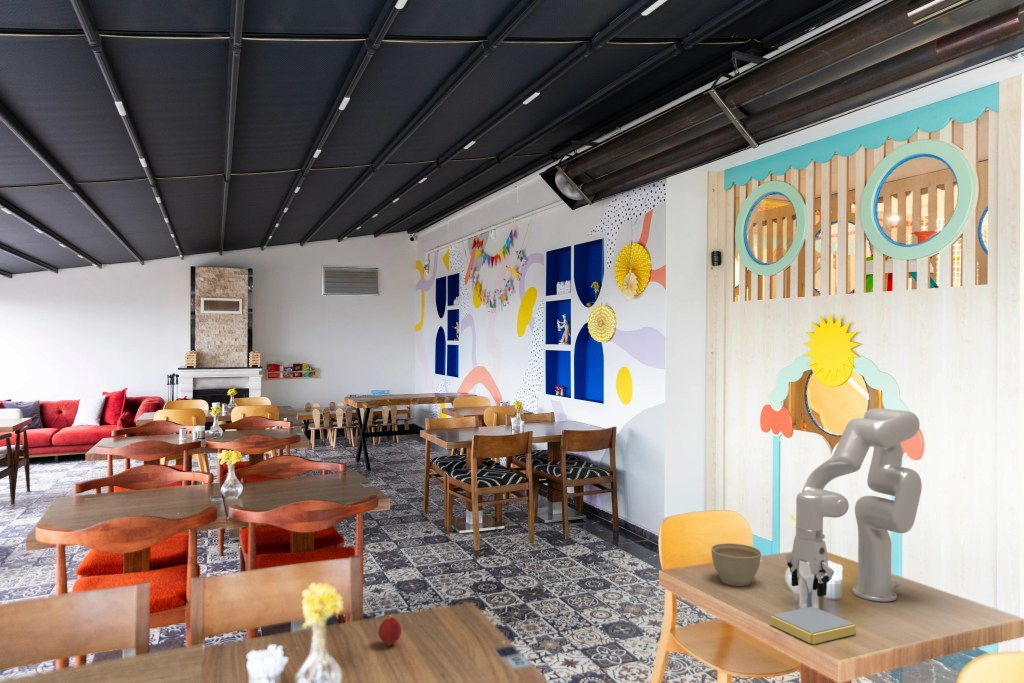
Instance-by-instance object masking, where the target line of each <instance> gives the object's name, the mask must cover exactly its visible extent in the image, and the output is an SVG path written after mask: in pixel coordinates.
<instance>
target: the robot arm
mask: <svg viewBox="0 0 1024 683" xmlns="http://www.w3.org/2000/svg"><path fill="white" fill-rule="evenodd" d="M920 425H921V424H920V419H919V417H918V415H916V414H915V413H913V412H911V411H909V410H902V409H901V410H900V409H890V408H882V407H881V408H880V407H879V408H876V407H875V408H870V409H868V410H866V412H865V413H864V415H863V418H862V417H861V418H860V417H858V418H853V419H851V420H849V421H848V423H847V424H846V426H845V428H844V430H843V433H842V434H841V436H840V439H839V440H838V443H837V446H836V447H835V450H834V452H833V454H832V456H831V457H830V458H829V459H827V460H826V461H824V462H823V463H821V464H820V465H818V467H816V468H815V469H814V470H812V471H811V473H810V474H809V475H808V477H807V479H806V481H805V483H804V486H803V488H802V491H801V492H799V493H797V495H796V499H795V500H796V501H795V503H796V504H795V505H796V507H795V508H796V509H795V512H796V514H795V522H796V523H795V535H794V538H793V543H792V544H793V545H792V550H791V551H792V552H791V553H789V554H786V555H785V560H786V563H787V566H788V568H789V572H790V573H791V587H797V586H798V581H797V562H798V559H800V560H801V561H805V562H809V566H810V570H811V573H812V574H813V575H816V577H817V579H818V581H819V583H817V596H819V597H825V596H827V588H828V587H827V586H828V585H827V583H829V582H830V581H831V580H832V579H833V578H832V577H833V576H834V574H835V571H834V569H833V568H832V567H830V565H829V560H828V550H827V546H826V545H827V544H826V541H825V540H824V539H825V538H826V536H825V533H823V532H824V531H823V530H824V518H841V517H843V516H844V515H846V513H847V512H848V511H849V507H850V504H849V501H848V499H847V498H846V496H844V495H843V494H841V493H839V492H835V491H829V490H827V489H825V487H826V486H827V485H828V484H829V483H830V482H831V481H833V480H834V479H836V478H839V477H843V476H846V475H850V474H852V473H856V472H858V471H860V469H861V468H862V465H863V463H864V460H865V458H866V456H867V454H868V451H869V449H870V448H871V447H873V450H872V457H871V462H870V465H869V469H868V474H867V480H866V481H867V486H868V488H869V489H870V490H871V491H873V492H875V493H879V494H883V495H888V496H892V497H894V498H893V499H894V500H892V499H889V498H885V497H880V496H875V495H865V496H861V497H860V498H858V499H857V501H856V502H855V505H854V514H855V520H856V525H857V535H858V536H857V538H858V540H857V552H858V553H857V585H855V586H853V587H852V593H853V595H855V596H857V597H858V598H861V599H865V600H868V601H874V602H882V603H885V602H886V603H887V602H893V601H895V600H897V599H898V596H897V595H898V594H897V593H896V592H895V591H893V589H894V588H899V587H901V582H900V581H899V580H892V539H891V538H892V537H891V536H890V533H889V531H890V532H893V533H898V534H906V533H908V532H910V531H911V530H912V528H913V527H914V524H915V521H916V517H917V513H918V512H917V511H918V509H919V505H920V504H919V503H920V501H921V500H920V499H921V494H922V489H923V484H922V479H921V478H922V477H920V474H919V473H918V472H917V471H916V470H914V469H912V468H910V467H903V466H902V462H903V457H904V450H903V446H902V443H903V442H905V441H907V440H910V439H912V438H914V437H915V436H916V435H917V433H918V432H919V430H920ZM819 571H820V572H819ZM820 575H821V576H822V578H821V576H820Z"/></svg>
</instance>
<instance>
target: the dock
mask: <svg viewBox="0 0 1024 683" xmlns="http://www.w3.org/2000/svg"><path fill="white" fill-rule="evenodd" d="M770 625H771V626H772V627H775V628H777V629H779V630H781V631H783V632H785V633H788V634H790V635H792V636H793V637H795V638H798V639H800V640H802V641H804V642H806V643H808V644H811V645H816V644H820V643H825V642H828V641H832V640H833V641H834V640H837V639H840V638H844V637H845V638H846V637H849V636H854V635H856V634H857V633H856V632H857V630H856V629H857V626H856V624H855V623H854V622H851V621H849V620H846V619H844V618H841V617H840V616H837V615H834V614H832V613H829V612H827V611H825V610H823V609H821V608H820V609H818V608H815V607H808V608H803V609H799V608H798V609H793V610H790V611H785V612H784V611H783V612H780V613H774V614H772V615H771V616H770Z"/></svg>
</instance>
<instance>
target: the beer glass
mask: <svg viewBox="0 0 1024 683" xmlns="http://www.w3.org/2000/svg"><path fill="white" fill-rule="evenodd" d="M819 572H820V571H819ZM820 576H821V575H820ZM821 578H822V576H821ZM797 581H798V587H797V588H798V592H799V600H798V603H797V604H798V606H797V608H798V609H803V608H808V607H815V608H818V609H820V610H821V608H820V602H819V596H817V583H819V581H818V579H817V577H816V575H813V574H812V573H811V570H810V566H809V562H805V561H801V560H800V559H798V562H797Z"/></svg>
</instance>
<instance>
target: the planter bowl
mask: <svg viewBox="0 0 1024 683" xmlns="http://www.w3.org/2000/svg"><path fill="white" fill-rule="evenodd" d="M710 551H711V558H712V564H713V566H714V569H715V570H716V572H717V574H718V575H719V577H720V581H721V582H722V583H724V584H726V585H730V586H733V587H746V586H749V585H751V582H752V580H753V578H755V576H756V574H757V573H758V570H759V568H760V564H761V557H762V552H761V550H760V549H758V548H756V547H753V546H750V545H747V544H739V543H732V542H731V543H729V542H726V543H725V542H723V543H718V544H714V545H712V546H711V548H710Z"/></svg>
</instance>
